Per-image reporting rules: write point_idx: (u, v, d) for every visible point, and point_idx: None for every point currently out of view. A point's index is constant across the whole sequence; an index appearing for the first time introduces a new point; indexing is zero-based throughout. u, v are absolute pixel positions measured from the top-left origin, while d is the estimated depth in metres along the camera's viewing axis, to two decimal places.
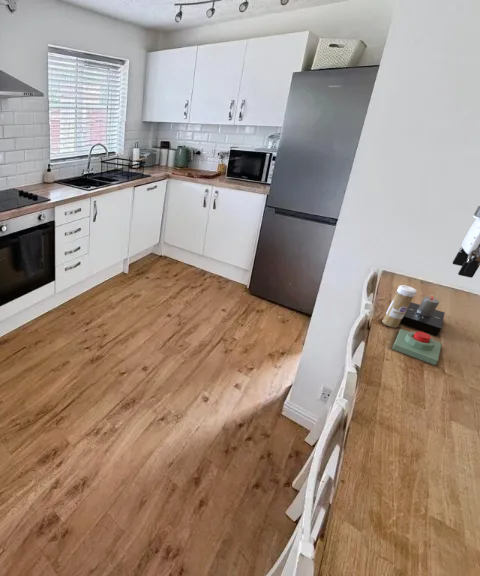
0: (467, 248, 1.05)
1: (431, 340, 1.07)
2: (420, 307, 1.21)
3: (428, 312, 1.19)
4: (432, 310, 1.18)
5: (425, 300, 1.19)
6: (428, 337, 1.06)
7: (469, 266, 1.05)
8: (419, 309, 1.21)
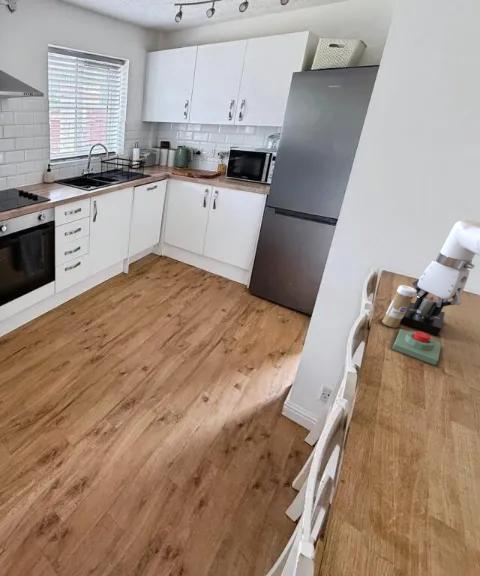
0: (443, 294, 1.14)
1: (431, 340, 1.07)
2: (420, 307, 1.21)
3: (428, 312, 1.19)
4: None
5: (425, 300, 1.19)
6: (428, 337, 1.06)
7: (439, 309, 1.17)
8: (419, 309, 1.21)
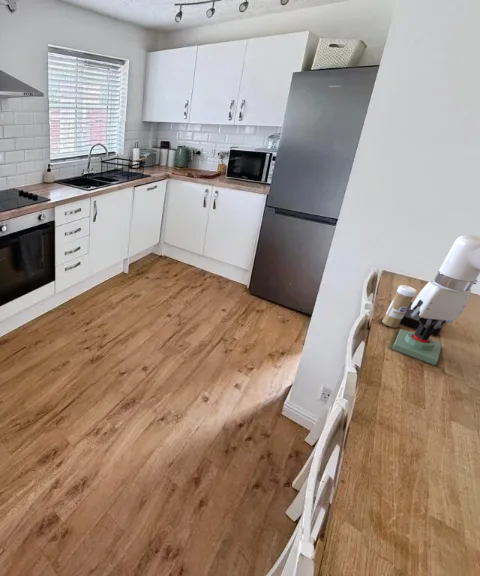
0: (452, 317, 1.01)
1: (431, 340, 1.07)
2: None
3: None
4: None
5: None
6: (427, 340, 1.06)
7: None
8: None
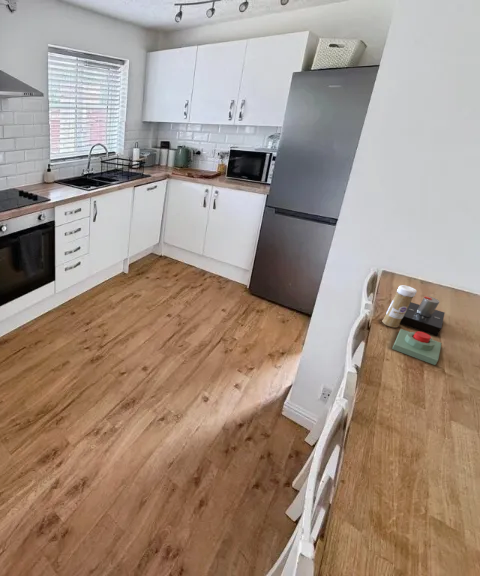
0: None
1: (431, 340, 1.07)
2: (430, 311, 1.19)
3: None
4: None
5: (436, 303, 1.17)
6: (428, 337, 1.06)
7: None
8: (429, 313, 1.19)
